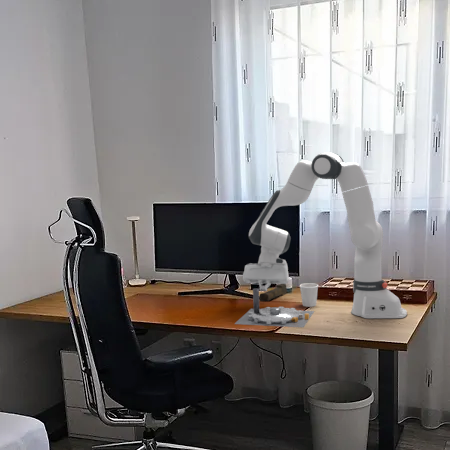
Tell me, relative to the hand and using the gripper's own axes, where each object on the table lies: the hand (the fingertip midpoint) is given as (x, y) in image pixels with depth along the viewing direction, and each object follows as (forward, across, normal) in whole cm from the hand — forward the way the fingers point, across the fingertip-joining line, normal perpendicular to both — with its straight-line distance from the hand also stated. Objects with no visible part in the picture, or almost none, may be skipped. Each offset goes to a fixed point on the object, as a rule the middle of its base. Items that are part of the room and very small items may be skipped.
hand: (262, 290), depth 252 cm
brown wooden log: (-13, -2, +28) cm, 31 cm away
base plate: (+14, +8, -1) cm, 16 cm away
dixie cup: (-2, +18, +16) cm, 24 cm away
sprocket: (+14, +8, -1) cm, 16 cm away
